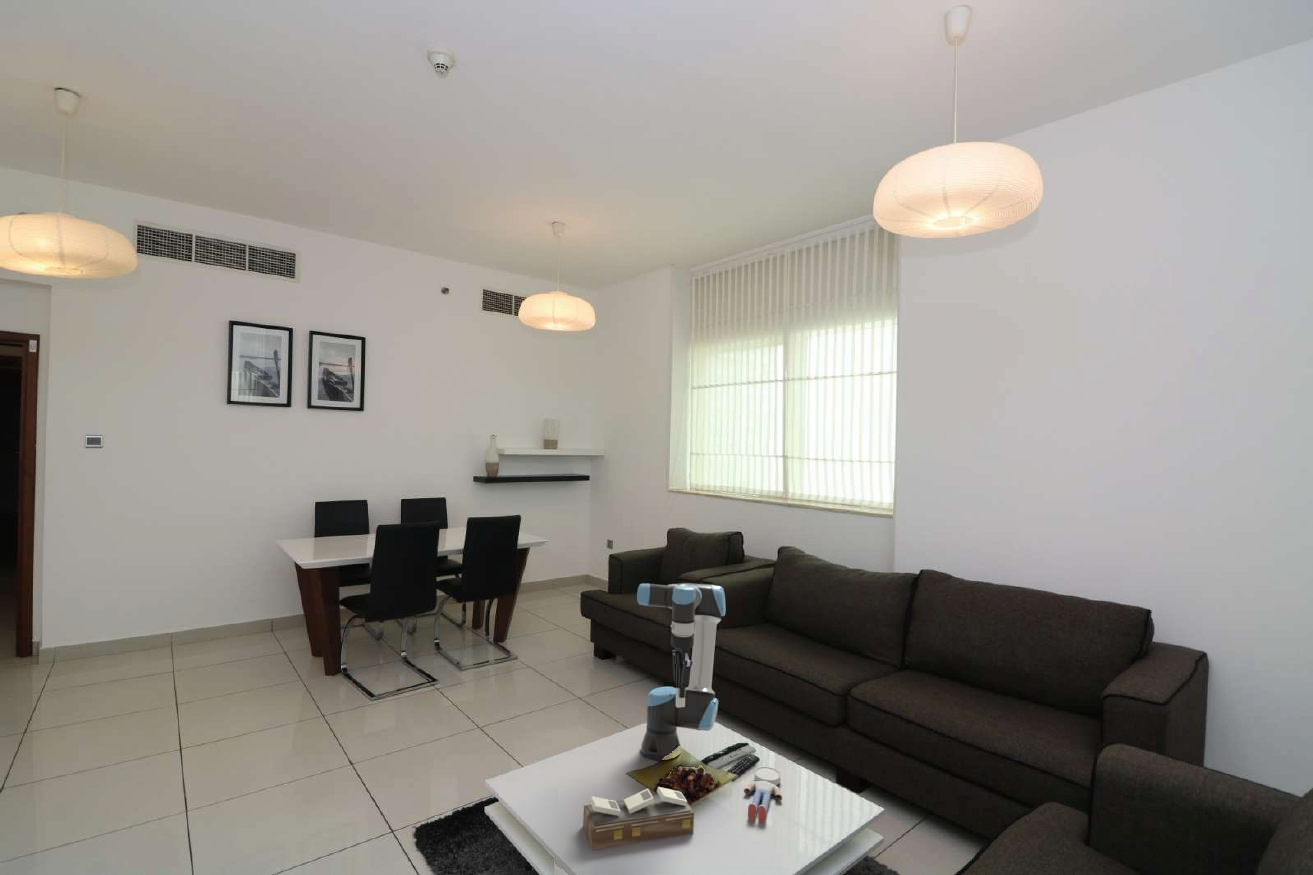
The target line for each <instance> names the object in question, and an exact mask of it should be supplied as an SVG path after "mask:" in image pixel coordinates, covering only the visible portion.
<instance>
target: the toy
mask: <svg viewBox="0 0 1313 875" xmlns="http://www.w3.org/2000/svg"><path fill="white" fill-rule="evenodd" d="M754 780H755V781H751V782H750V783H749V784H748V785H746V787H745V788H744V789H743V792H744V794H745V795H746V796H747V795H750V794H751V793H752V792H753V791H755V792H754V795H753V799H752V802H750V803H749V804H748V806H747V808H748V809H747V818H748V820H750V821H755V820H756V818H757V820H758V822H761V823H766V822H767V813H768V807H769V803H770V801H771V796H772V795H774V796H775V800H776V801H778V802H780V801H782V800H783V796H782V793H781V789H780V788H779V787H778V786H777V785H779V784H780V783H781V772H779V770H777V769H776V768H773V767H770V766H760V767H757V768H755V770H754ZM760 802H761V804H760Z"/></svg>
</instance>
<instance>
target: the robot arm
mask: <svg viewBox="0 0 1313 875" xmlns="http://www.w3.org/2000/svg"><path fill="white" fill-rule="evenodd" d="M636 599H637V600H636V601H637V603H638V605H640V606H641V605H642V606H645V607H658V608H659V607H660V608H668V609H671V610H672V611H671V612H672V613H671V624H670V628H671V635H670V637H671V638H670V646H672V647H673V648H674V649H672V650H671V653H672V654H671V656H672V671H673V674H672V675H673V682H675V687H674V686H661V687H660V686H659V687H656V688H653V689H651V691H650V692H649V693H648V694H647V702H646V730H645V733H644V736H643V737H642V738H643V739H642V742H641V744H640V746H641V747H640V752H641V754H642V755H643V756H644V755H645V756H644V757H645V758H647V757H648V759H650V760H653V761H661V760H662V759H663V758H664V757H665V756H667V755H669V754H670V753H672V751H674V750H675V749H676V748H677V747H678V746H681V742H680V739H679V735H678V731H677V729H678V728H683V729H688V730H689V729H690V730H695V731H703V732H705V731H706V732H709V731H711V730H712V729H713V728H714V725H715V722H716V718H717V714H718V708H719V700H718V698H716V697H715V696H716V693H715V691H714V690H713V689H712V683H713V671H714V662H715V661H714V660H715V647H716V635H717V625H718V624H719V623H720V622H721V621H722V617H724V616H725V615H726V607H727V606H726V594H725V591H724V587H722V586H720V585H716V584H715V585H714V584H707V583H706V584H704V583H692V582H691V583H690V582H682V583H671V584H667V585H665V584H655V583H640V584H639V585H638V587H637V592H636ZM691 648H692V653H691V654H690V649H691ZM690 656H691V660H690Z"/></svg>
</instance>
